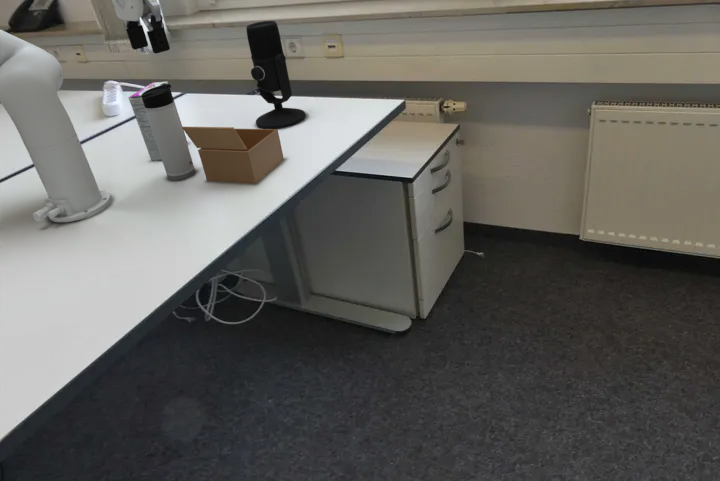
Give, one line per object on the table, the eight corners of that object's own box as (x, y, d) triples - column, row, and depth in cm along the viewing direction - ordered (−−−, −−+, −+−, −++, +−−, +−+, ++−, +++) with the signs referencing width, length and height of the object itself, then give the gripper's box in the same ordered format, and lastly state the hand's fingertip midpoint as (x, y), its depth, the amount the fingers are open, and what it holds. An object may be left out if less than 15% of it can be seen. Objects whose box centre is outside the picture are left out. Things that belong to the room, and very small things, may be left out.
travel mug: (202, 171, 130) (176, 85, 120) (177, 183, 126) (148, 94, 116) (187, 166, 134) (161, 82, 124) (162, 177, 130) (133, 91, 120)
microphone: (246, 125, 154) (223, 29, 142) (282, 109, 163) (263, 17, 150) (279, 132, 146) (257, 31, 133) (316, 115, 154) (299, 18, 142)
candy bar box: (171, 144, 150) (151, 82, 141) (188, 143, 148) (169, 80, 140) (149, 161, 140) (126, 96, 132) (167, 160, 139) (146, 95, 131)
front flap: (247, 148, 116) (246, 149, 116) (197, 147, 121) (196, 148, 121) (233, 127, 111) (233, 128, 111) (182, 126, 116) (181, 127, 116)
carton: (255, 184, 120) (247, 151, 116) (207, 181, 125) (197, 150, 121) (284, 159, 130) (277, 129, 126) (237, 157, 135) (230, 128, 131)
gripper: (82, -44, 105) (115, 51, 114) (118, -47, 94) (152, 58, 102) (121, -50, 109) (150, 41, 118) (160, -55, 98) (189, 48, 106)
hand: (151, 49), depth 110 cm, fingers open, 9 cm apart
